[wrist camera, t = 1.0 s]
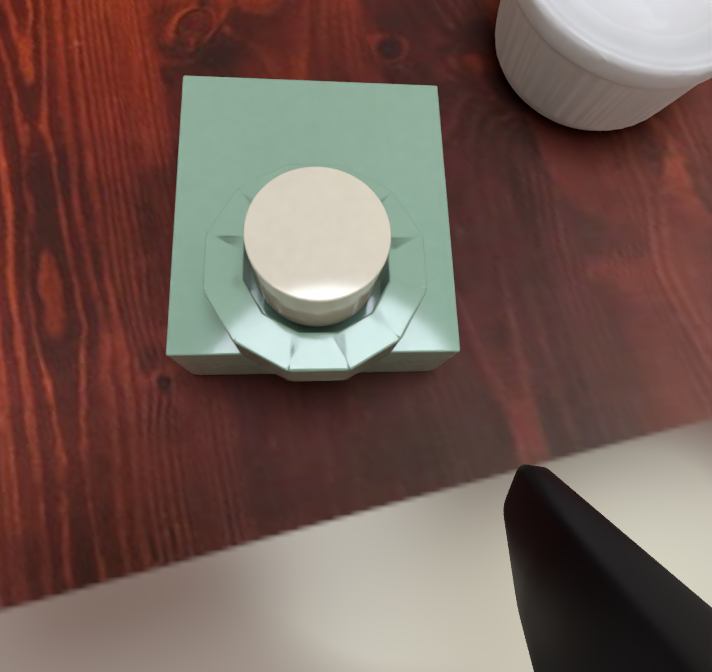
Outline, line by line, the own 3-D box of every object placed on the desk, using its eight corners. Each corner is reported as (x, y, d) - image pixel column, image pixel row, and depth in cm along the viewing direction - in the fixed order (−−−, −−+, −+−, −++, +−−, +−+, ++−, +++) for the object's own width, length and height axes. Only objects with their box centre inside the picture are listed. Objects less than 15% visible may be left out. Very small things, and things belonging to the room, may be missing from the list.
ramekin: (482, -43, 27) (522, -160, 22) (675, -3, 27) (758, -109, 22) (466, 131, 24) (508, 42, 19) (681, 170, 25) (779, 95, 19)
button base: (434, 393, 21) (483, 368, 15) (191, 398, 20) (143, 373, 14) (416, 146, 24) (451, 44, 18) (204, 140, 23) (167, 30, 17)
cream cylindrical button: (381, 326, 15) (395, 301, 13) (252, 327, 15) (241, 302, 12) (376, 210, 16) (387, 167, 14) (254, 209, 16) (244, 163, 13)
